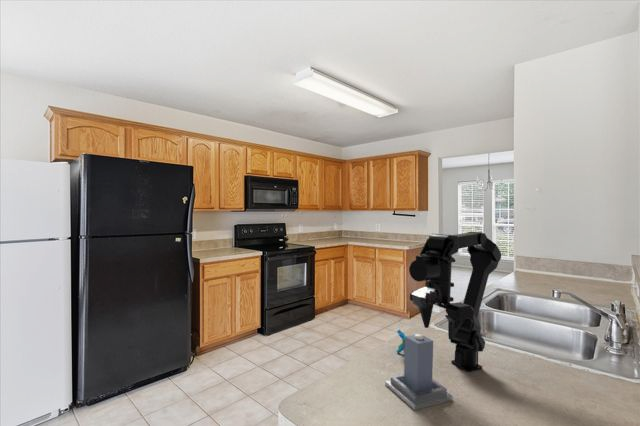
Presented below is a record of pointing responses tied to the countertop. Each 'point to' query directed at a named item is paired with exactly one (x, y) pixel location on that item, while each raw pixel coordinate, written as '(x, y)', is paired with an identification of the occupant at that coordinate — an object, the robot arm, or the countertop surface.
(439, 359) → the countertop surface
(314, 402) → the countertop surface
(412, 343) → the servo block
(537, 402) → the countertop surface
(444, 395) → the grey square tray
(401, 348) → the gear
